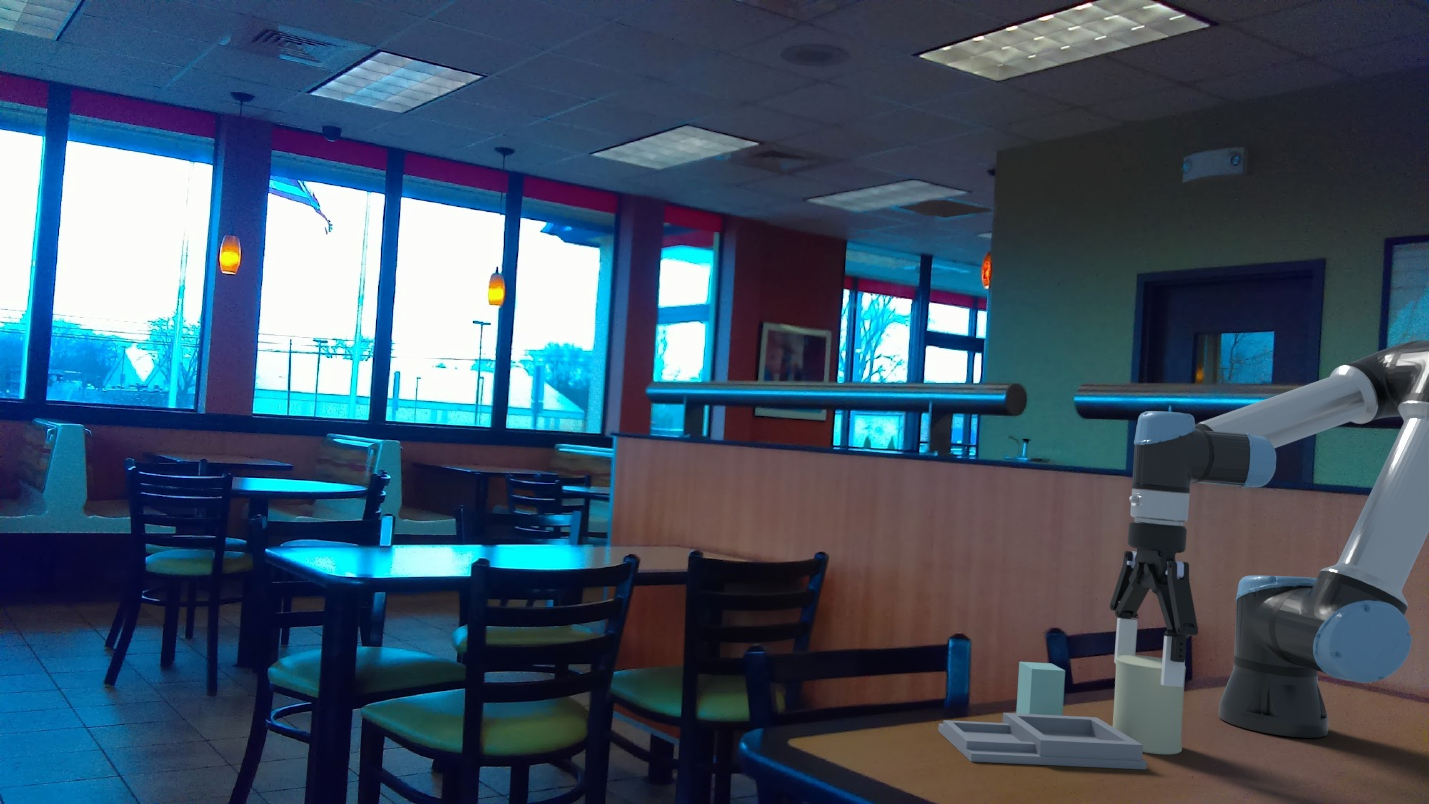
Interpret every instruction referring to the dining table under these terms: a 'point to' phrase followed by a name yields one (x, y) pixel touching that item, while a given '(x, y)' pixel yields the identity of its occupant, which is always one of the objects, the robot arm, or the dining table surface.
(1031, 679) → the block
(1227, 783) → the dining table surface
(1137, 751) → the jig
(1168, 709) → the can
